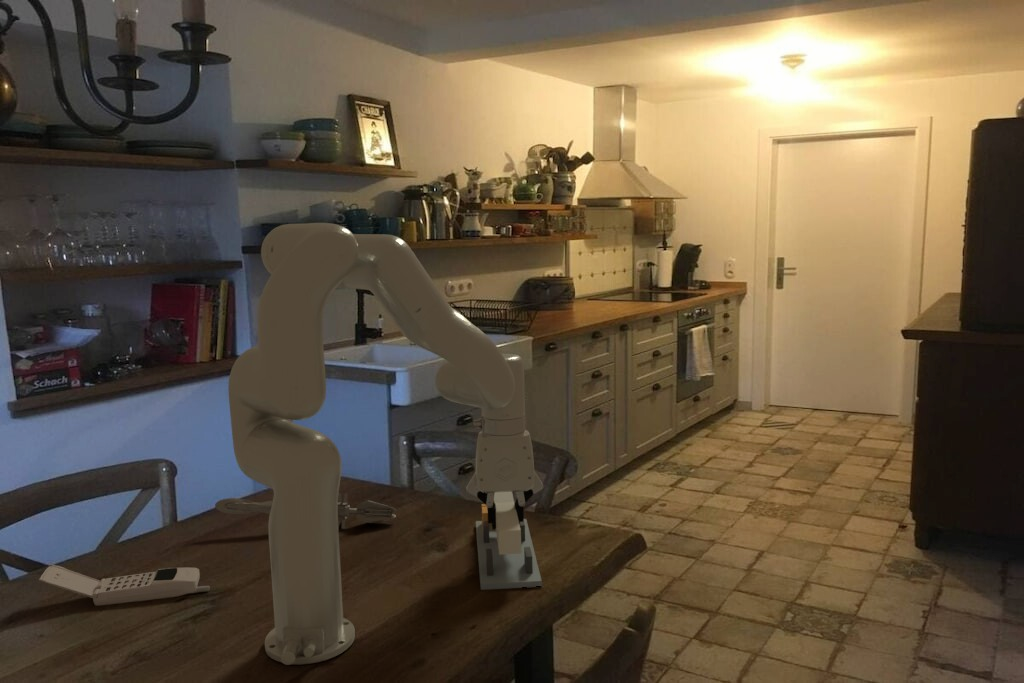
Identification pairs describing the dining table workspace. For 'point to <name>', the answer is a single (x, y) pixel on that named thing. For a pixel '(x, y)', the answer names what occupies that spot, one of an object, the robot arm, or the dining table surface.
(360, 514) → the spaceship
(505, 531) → the long cream stick
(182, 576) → the mobile phone
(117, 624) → the dining table surface
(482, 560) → the clip rail
